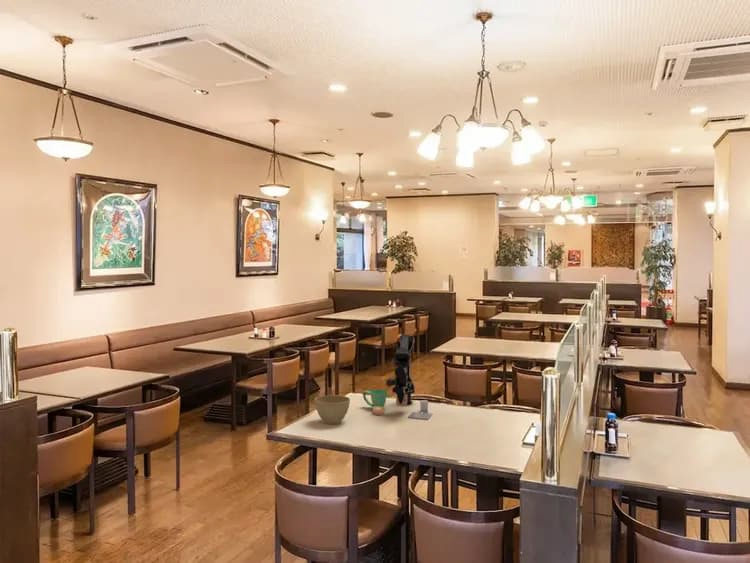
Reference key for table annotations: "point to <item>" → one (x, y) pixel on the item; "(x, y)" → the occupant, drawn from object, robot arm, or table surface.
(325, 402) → the flower pot
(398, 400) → the walnut block
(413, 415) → the slate coaster
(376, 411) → the peach egg shape
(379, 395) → the mug
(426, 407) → the light wood block
